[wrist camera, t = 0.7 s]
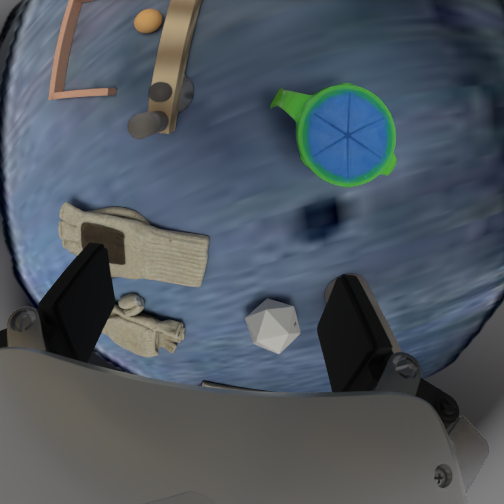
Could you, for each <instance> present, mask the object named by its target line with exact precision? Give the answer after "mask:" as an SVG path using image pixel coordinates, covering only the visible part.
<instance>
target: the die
mask: <svg viewBox="0 0 504 504" xmlns="http://www.w3.org/2000/svg"><path fill="white" fill-rule="evenodd" d="M245 320H246V323H247V326H248V329H249V332H250V335H251V338H252V341H253V344H255V345H257V346H260V347H262V348H265V349H267V350H270V351H272V352H275V353H277V354H280V353H281V352H282V351H283V350H284V349H285V348H286V347H287V346H288V345H289V344H290V343H291V342H292V341H293V340H294V339H295V338H296V337H297V336H298V335H299V334H300V333H301V332H300V328H299V324H298V320H297V316H296V312H295V308H294V306H291V305H288V304H285V303H281V302H278V301H275V300H271V299H268V298H267V299H266V300H265V301H264V302H262V303H261V304H260V305H259V306H258V307H257V308H256V309H254V310H253V311H252V312H251V313H250V314H249V315H248V316H246V317H245Z"/></svg>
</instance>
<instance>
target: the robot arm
mask: <svg viewBox="0 0 504 504" xmlns="http://www.w3.org/2000/svg"><path fill="white" fill-rule="evenodd" d="M39 306H40V307H39V308H38V309H37V310H36V309H34V308H32V307H22V308H20V309H17V310H16V311H14V312H13V313H12V314H11V315H10V317H9V318H8V321H7V329H4V330H1V331H0V504H468V501H467V496H466V492H467V491H468V489H469V488H470V486H471V485H472V483H473V481H474V480H475V478H476V476H477V475H478V473H479V471H480V469H481V468H482V466H483V464H484V462H485V460H486V459H487V456H488V454H489V445H488V443H487V441H486V439H485V438H484V437H483V436H482V435H481V434H480V433H479V432H478V431H477V430H476V429H475V428H474V427H473V426H472V425H471V424H470V422H469V421H467V419H466V418H465V417H464V416H461V417H459V408H458V405H457V403H456V401H455V400H454V399H453V398H452V397H451V396H450V395H448V394H446V393H445V392H443V391H441V390H440V389H438V388H436V387H435V386H433V385H432V384H430V383H428V382H427V381H425V380H424V379H422V378H421V374H422V370H421V366H420V364H419V363H418V361H417V360H416V359H415V358H414V357H413V356H411V355H409V354H407V353H404V352H397V353H393V351H392V347H393V346H392V344H391V342H390V340H389V338H388V336H387V334H386V332H385V330H384V328H383V326H382V324H381V322H380V320H379V318H378V316H377V314H376V312H375V310H374V308H373V306H372V304H371V302H370V300H369V298H368V296H367V294H366V293H365V291H364V289H363V287H362V285H361V283H360V281H359V280H358V278H357V276H355V275H347V274H343V275H341V277H338V278H337V279H336V281H335V284H334V286H333V289H332V292H331V294H330V297H329V299H328V302H327V304H326V307H325V309H324V312H323V314H322V316H321V319H320V321H319V324H318V327H317V332H318V336H319V340H320V344H321V348H322V352H323V356H324V360H325V364H326V368H327V372H328V376H329V380H330V384H331V388H332V392H319V393H287V392H260V391H245V390H232V389H221V388H212V387H204V386H196V385H189V384H182V383H176V382H169V381H164V380H158V379H153V378H147V377H142V376H138V375H133V374H128V373H124V372H120V371H116V370H111V369H107V368H103V367H100V366H96V365H92V364H88V360H89V358H90V356H91V354H92V352H93V349H94V347H95V345H96V343H97V341H98V339H99V337H100V335H101V333H102V331H103V328H104V326H105V324H106V322H107V320H108V318H109V316H110V315H111V313H112V311H113V309H114V306H115V296H114V290H113V284H112V278H111V272H110V264H109V257H108V250H107V248H104V245H103V244H100V243H93V242H90V243H88V245H87V246H86V247H85V248H84V249H83V250H82V251H81V252H80V253H79V255H78V256H77V257H76V258H75V259H74V260H73V261H72V263H71V264H70V265H69V266H68V267H67V268H66V270H65V271H64V272H63V273H62V274H61V276H60V277H59V278H58V279H57V281H56V282H55V283H54V284H53V286H52V287H51V288H50V289H49V291H48V292H47V293H46V295H45V296H44V297H43V298H42V300H41V301H40V302H39Z"/></svg>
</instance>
